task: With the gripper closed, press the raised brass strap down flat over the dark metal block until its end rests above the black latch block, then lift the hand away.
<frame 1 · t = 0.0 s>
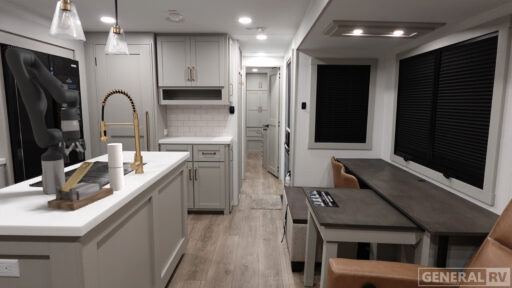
hand: (74, 161, 144), 17 cm above the countertop, tool pointing down, fingers open, 8 cm apart
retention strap: (77, 176, 132), point 13 cm above the countertop, hinge at 35.0°
cylindrical container: (117, 189, 154), on the countertop
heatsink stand: (83, 200, 136), on the countertop
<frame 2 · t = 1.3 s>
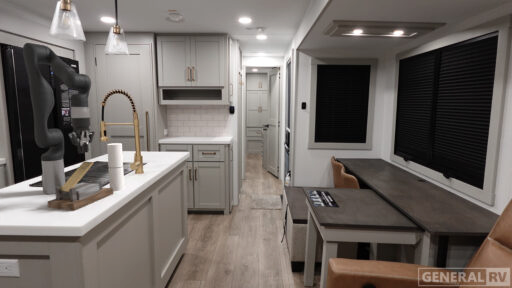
hand: (83, 152, 135), 23 cm above the countertop, tool pointing down, fingers closed
nothing on the countertop moved.
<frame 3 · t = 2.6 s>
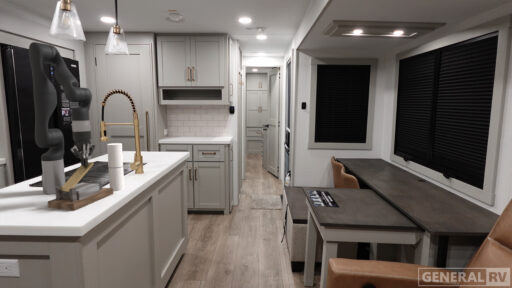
hand: (84, 165, 136), 17 cm above the countertop, tool pointing down, fingers closed
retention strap: (77, 176, 132), point 13 cm above the countertop, hinge at 33.9°, touching gripper
everything else where it was.
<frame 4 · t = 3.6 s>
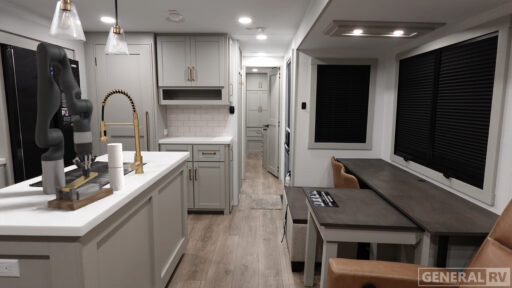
hand: (86, 176, 137), 11 cm above the countertop, tool pointing down, fingers closed
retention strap: (79, 181, 133), point 10 cm above the countertop, hinge at 12.3°, touching gripper
everything else where it was.
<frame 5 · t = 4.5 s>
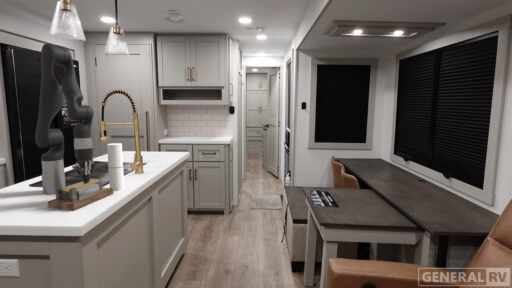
hand: (86, 182, 137), 8 cm above the countertop, tool pointing down, fingers closed
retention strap: (80, 184, 134), point 8 cm above the countertop, hinge at -0.2°, touching gripper
everything else where it was.
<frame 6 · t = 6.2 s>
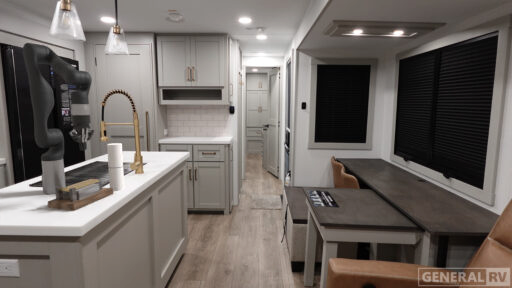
hand: (83, 150, 134), 24 cm above the countertop, tool pointing down, fingers closed
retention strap: (80, 184, 134), point 8 cm above the countertop, hinge at -0.2°
everything else where it was.
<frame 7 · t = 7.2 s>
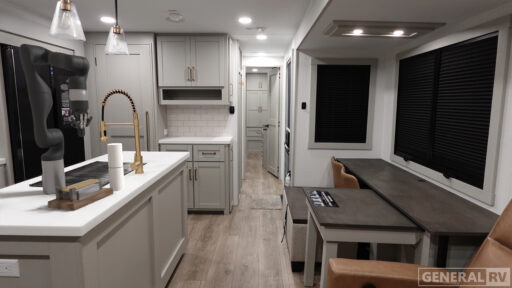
hand: (81, 136, 133), 31 cm above the countertop, tool pointing down, fingers closed
nothing on the countertop moved.
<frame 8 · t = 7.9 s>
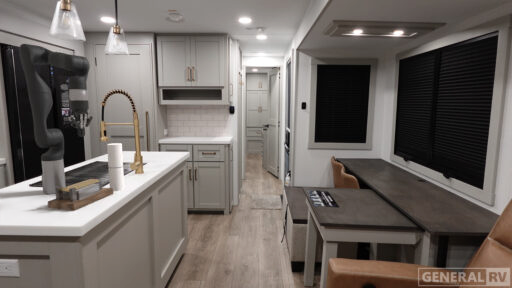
hand: (81, 136, 133), 31 cm above the countertop, tool pointing down, fingers closed
nothing on the countertop moved.
at the end: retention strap at +0° (first picture: +35°); cylindrical container moved 0.2 cm from its start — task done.
